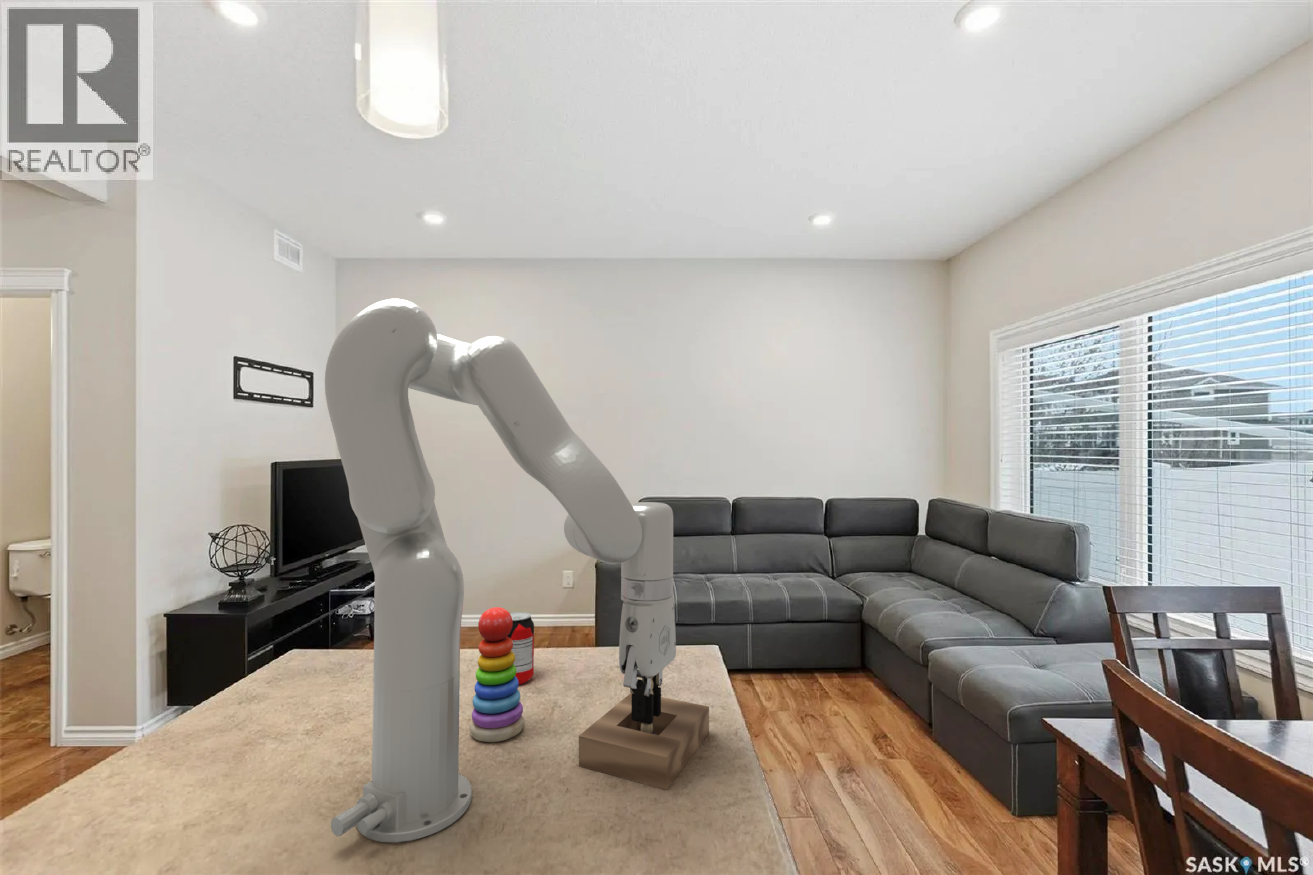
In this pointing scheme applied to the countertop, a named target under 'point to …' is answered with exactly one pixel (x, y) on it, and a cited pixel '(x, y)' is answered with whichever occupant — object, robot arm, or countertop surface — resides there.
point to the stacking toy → (496, 681)
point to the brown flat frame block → (645, 742)
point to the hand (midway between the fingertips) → (646, 717)
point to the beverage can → (523, 645)
